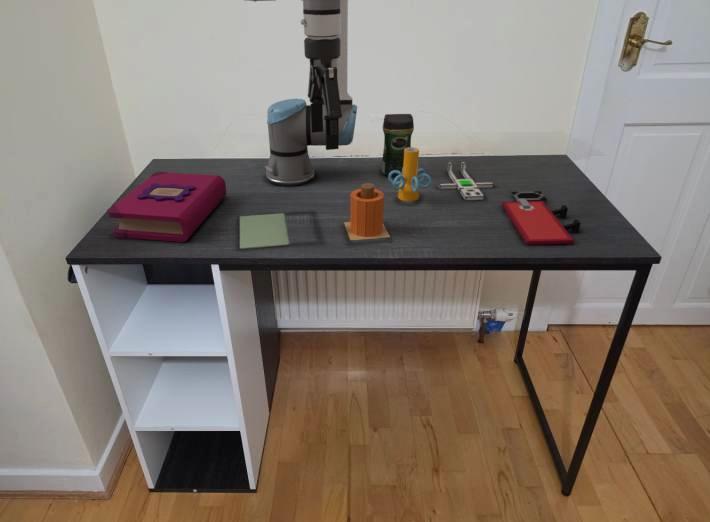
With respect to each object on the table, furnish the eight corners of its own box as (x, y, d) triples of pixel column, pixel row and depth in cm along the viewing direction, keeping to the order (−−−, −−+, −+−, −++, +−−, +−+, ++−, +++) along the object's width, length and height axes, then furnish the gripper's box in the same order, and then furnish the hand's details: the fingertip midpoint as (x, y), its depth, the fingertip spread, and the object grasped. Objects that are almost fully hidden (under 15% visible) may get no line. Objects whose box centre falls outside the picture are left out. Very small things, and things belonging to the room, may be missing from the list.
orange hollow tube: (348, 223, 135) (348, 189, 130) (378, 221, 136) (379, 187, 131) (353, 237, 129) (354, 202, 123) (385, 235, 130) (387, 200, 124)
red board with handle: (546, 194, 152) (494, 195, 152) (548, 185, 150) (496, 186, 151) (587, 244, 127) (526, 246, 127) (590, 234, 126) (528, 236, 126)
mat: (239, 217, 141) (239, 216, 141) (312, 212, 144) (312, 210, 144) (240, 249, 127) (239, 248, 126) (321, 242, 129) (321, 241, 129)
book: (227, 198, 152) (224, 173, 148) (189, 243, 129) (183, 215, 125) (160, 193, 156) (155, 169, 151) (111, 237, 132) (103, 209, 128)
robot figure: (430, 173, 168) (446, 200, 149) (431, 163, 166) (447, 190, 148) (480, 171, 168) (502, 199, 150) (482, 161, 167) (504, 188, 148)
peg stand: (343, 226, 136) (343, 179, 129) (381, 223, 138) (383, 176, 131) (350, 244, 128) (350, 195, 121) (390, 241, 129) (392, 192, 122)
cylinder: (432, 196, 152) (437, 145, 144) (425, 210, 144) (430, 158, 136) (391, 191, 156) (394, 141, 147) (382, 205, 147) (385, 153, 139)
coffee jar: (409, 168, 172) (413, 110, 161) (412, 176, 165) (417, 117, 155) (379, 168, 171) (381, 111, 161) (382, 177, 165) (384, 118, 155)
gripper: (292, 30, 116) (296, 126, 127) (319, 46, 96) (321, 159, 107) (324, 29, 117) (326, 124, 129) (358, 44, 97) (356, 155, 109)
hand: (324, 140), depth 118 cm, fingers open, 13 cm apart
